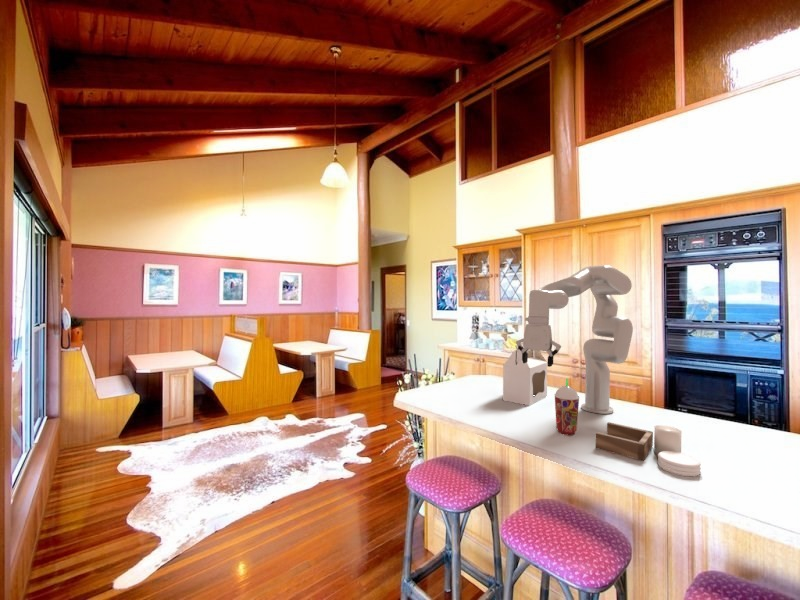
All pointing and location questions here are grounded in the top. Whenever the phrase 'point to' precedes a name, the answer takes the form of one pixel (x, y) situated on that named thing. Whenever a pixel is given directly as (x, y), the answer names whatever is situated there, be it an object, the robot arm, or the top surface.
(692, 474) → the coaster
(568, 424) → the smoothie
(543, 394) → the gable box
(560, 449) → the top surface
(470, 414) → the top surface
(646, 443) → the u rest
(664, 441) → the beige cylinder
